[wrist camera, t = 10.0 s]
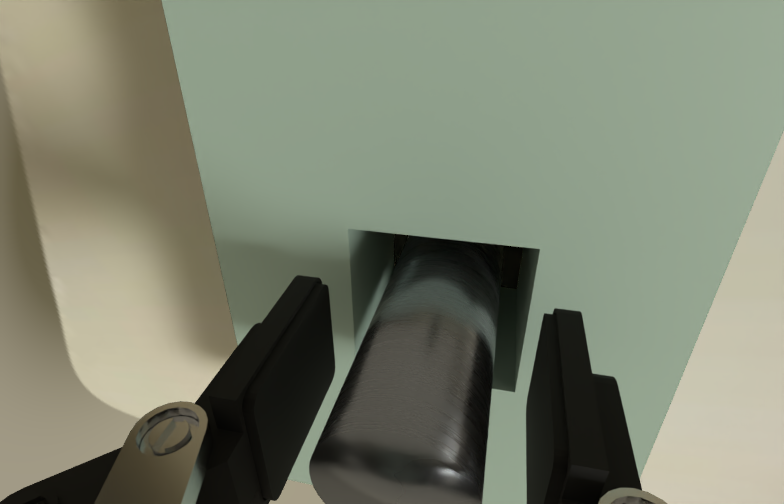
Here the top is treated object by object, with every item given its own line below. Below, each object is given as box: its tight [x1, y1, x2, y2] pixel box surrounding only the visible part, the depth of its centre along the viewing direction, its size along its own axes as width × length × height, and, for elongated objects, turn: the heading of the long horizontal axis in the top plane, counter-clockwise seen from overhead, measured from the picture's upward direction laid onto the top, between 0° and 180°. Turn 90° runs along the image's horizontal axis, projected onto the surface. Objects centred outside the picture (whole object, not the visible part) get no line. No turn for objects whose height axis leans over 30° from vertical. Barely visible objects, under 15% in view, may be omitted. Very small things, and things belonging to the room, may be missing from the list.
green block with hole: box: [162, 0, 784, 504], centre depth 14 cm, size 17×12×5 cm
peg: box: [309, 235, 504, 504], centre depth 12 cm, size 3×3×10 cm
